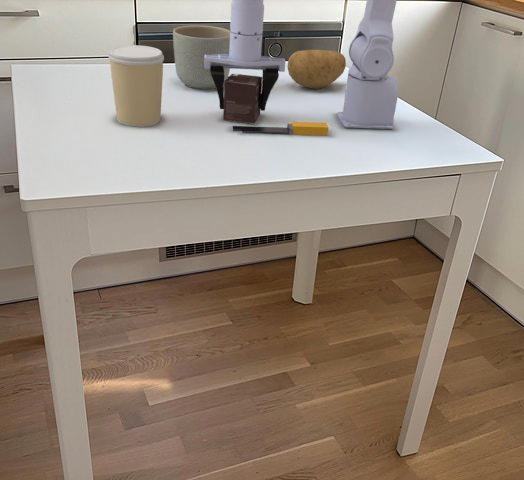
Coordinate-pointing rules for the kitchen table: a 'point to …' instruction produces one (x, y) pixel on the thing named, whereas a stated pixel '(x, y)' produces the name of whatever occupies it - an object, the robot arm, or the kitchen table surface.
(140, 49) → the coffee cup
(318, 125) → the knife
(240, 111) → the box
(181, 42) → the planter
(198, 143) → the kitchen table surface
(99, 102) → the kitchen table surface
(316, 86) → the potato
